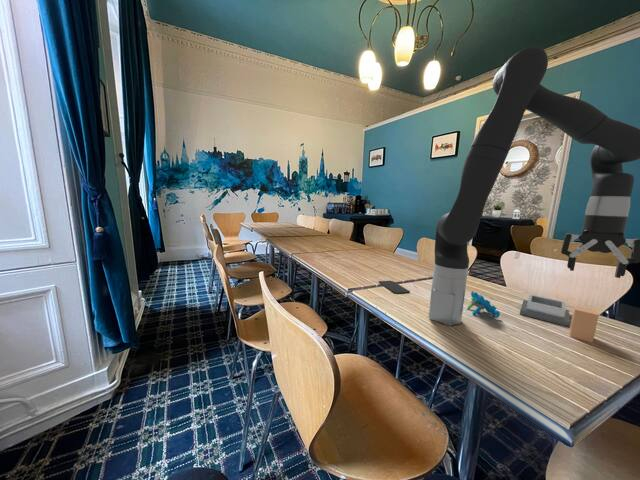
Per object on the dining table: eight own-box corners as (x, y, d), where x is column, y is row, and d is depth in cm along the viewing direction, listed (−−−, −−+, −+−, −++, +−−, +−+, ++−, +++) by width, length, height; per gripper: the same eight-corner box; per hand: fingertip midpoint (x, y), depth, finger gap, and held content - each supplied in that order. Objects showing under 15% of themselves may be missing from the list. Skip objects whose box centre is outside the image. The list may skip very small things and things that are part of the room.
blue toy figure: (508, 318, 77) (486, 294, 77) (493, 331, 77) (471, 306, 78) (486, 308, 88) (466, 286, 88) (473, 319, 88) (454, 298, 89)
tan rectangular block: (592, 342, 68) (598, 315, 67) (569, 336, 71) (575, 309, 69) (590, 336, 71) (596, 310, 70) (569, 331, 74) (574, 305, 73)
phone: (392, 280, 115) (411, 291, 100) (391, 282, 115) (411, 293, 101) (377, 281, 113) (394, 292, 99) (377, 282, 113) (394, 294, 99)
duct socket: (569, 327, 76) (572, 313, 75) (519, 314, 84) (521, 301, 84) (567, 314, 86) (570, 301, 85) (523, 303, 94) (525, 292, 93)
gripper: (568, 212, 68) (558, 270, 71) (653, 216, 59) (638, 283, 61) (567, 212, 74) (557, 266, 76) (645, 215, 64) (631, 276, 67)
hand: (593, 273), depth 69 cm, fingers open, 8 cm apart
